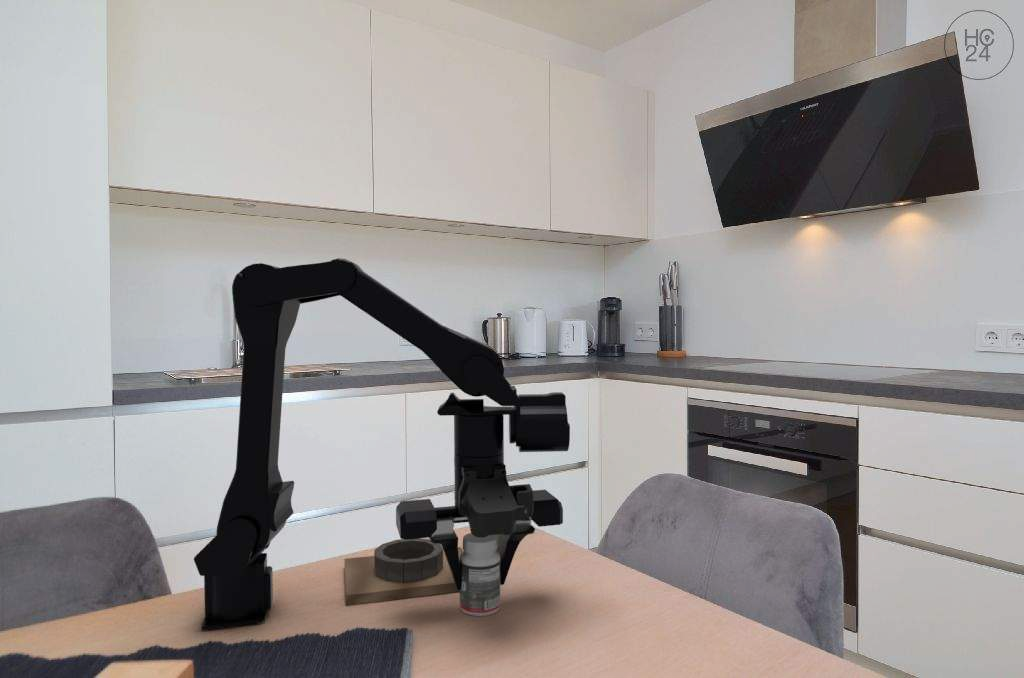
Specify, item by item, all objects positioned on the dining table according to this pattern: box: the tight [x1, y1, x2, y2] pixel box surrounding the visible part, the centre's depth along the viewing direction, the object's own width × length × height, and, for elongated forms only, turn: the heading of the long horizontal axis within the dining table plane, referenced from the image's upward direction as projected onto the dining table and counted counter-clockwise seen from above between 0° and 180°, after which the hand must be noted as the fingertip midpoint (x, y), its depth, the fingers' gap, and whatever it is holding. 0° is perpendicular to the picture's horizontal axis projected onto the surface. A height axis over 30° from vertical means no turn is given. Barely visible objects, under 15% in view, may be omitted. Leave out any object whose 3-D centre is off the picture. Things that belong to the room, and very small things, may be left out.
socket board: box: [343, 538, 464, 606], centre depth 83 cm, size 16×12×4 cm
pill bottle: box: [459, 532, 501, 617], centre depth 74 cm, size 5×5×8 cm
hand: (480, 586), depth 74 cm, fingers closed on pill bottle, 5 cm apart
